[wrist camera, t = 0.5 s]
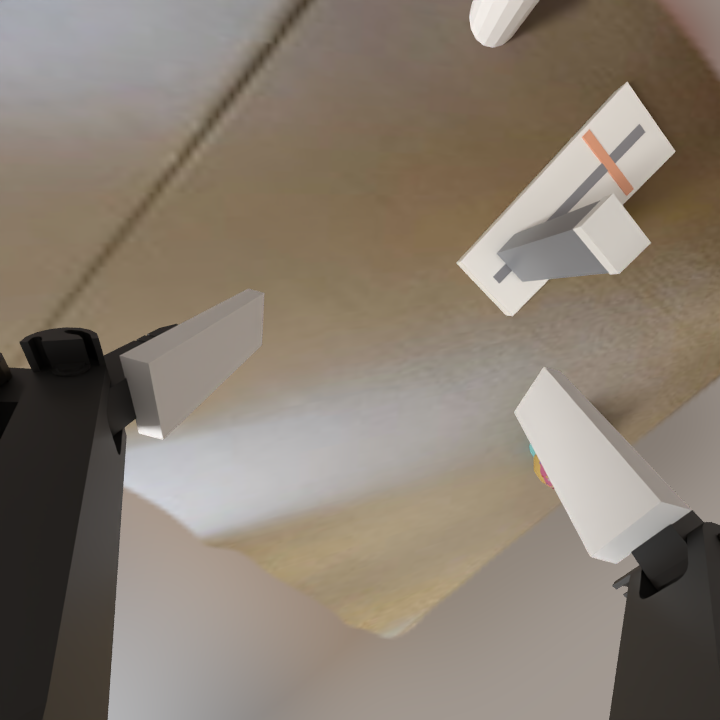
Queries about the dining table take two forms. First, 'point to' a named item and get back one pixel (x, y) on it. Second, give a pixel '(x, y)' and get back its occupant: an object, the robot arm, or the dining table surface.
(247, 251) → the dining table surface
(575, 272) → the fader tab
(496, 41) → the white cup
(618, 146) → the fader base
